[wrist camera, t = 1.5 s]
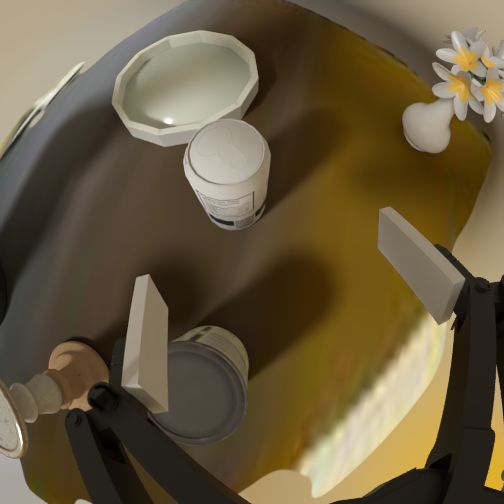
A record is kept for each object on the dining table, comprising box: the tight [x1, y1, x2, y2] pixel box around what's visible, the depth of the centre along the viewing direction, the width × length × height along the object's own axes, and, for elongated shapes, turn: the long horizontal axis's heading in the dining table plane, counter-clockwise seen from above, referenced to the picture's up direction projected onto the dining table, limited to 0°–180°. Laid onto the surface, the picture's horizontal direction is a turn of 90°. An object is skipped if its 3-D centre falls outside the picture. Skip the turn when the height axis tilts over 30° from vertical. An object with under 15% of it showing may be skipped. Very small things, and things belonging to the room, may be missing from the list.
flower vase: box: [402, 27, 504, 153], centre depth 29 cm, size 13×18×25 cm
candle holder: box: [0, 341, 110, 459], centre depth 26 cm, size 12×12×20 cm
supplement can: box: [183, 118, 271, 230], centre depth 32 cm, size 8×8×15 cm
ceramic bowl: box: [112, 30, 258, 147], centre depth 41 cm, size 24×24×4 cm
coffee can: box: [148, 326, 249, 446], centre depth 29 cm, size 10×10×14 cm
